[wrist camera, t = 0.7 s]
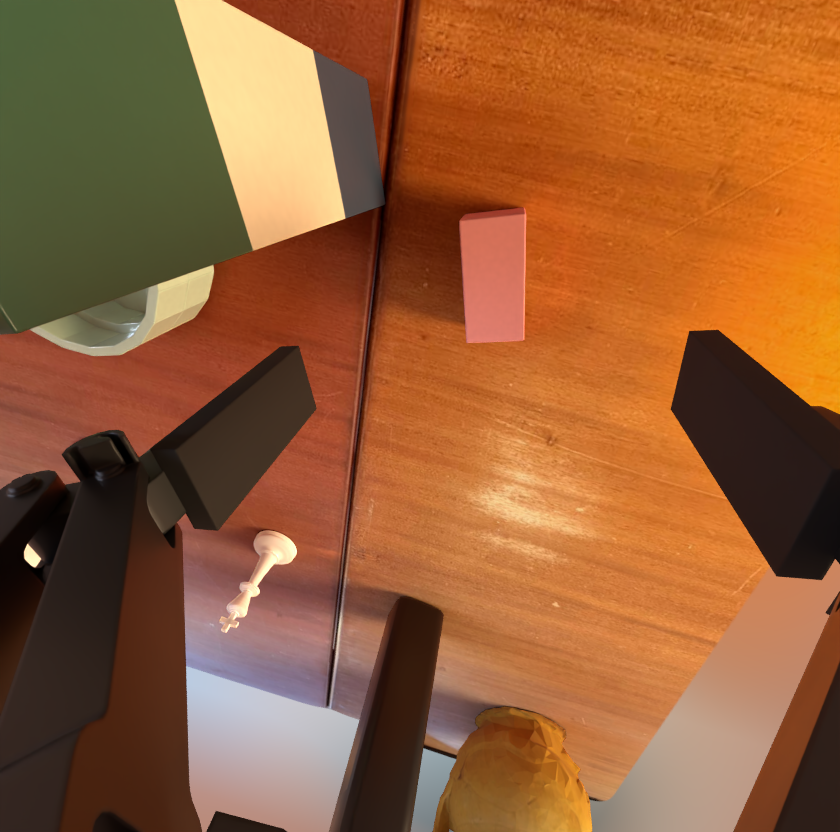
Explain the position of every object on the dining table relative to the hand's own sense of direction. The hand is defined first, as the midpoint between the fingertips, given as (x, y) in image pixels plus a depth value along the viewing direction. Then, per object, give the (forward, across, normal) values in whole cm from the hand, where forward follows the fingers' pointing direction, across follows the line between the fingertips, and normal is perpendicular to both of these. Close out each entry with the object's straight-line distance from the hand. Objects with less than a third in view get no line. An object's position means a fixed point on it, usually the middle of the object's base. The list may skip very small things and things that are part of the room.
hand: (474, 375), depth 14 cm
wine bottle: (+14, -10, -38) cm, 41 cm away
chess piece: (+14, -25, -28) cm, 40 cm away
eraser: (+14, 0, 0) cm, 14 cm away
